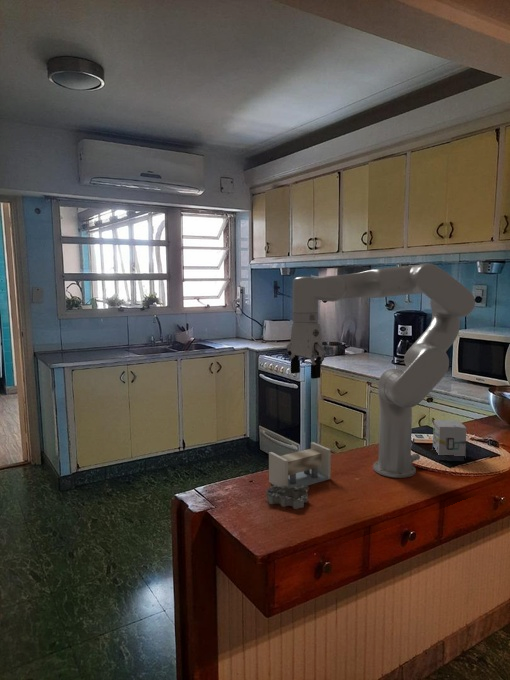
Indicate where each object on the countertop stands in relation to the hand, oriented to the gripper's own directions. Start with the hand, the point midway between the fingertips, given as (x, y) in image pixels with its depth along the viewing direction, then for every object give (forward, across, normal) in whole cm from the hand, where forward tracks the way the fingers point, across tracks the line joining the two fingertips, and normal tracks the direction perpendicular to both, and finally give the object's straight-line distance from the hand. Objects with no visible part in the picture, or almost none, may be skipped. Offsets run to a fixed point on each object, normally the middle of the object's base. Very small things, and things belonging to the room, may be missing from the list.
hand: (305, 375), depth 141 cm
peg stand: (+30, -4, +5) cm, 31 cm away
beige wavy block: (+26, -4, +5) cm, 27 cm away
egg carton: (+31, -13, +16) cm, 37 cm away
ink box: (+31, -16, -48) cm, 59 cm away
